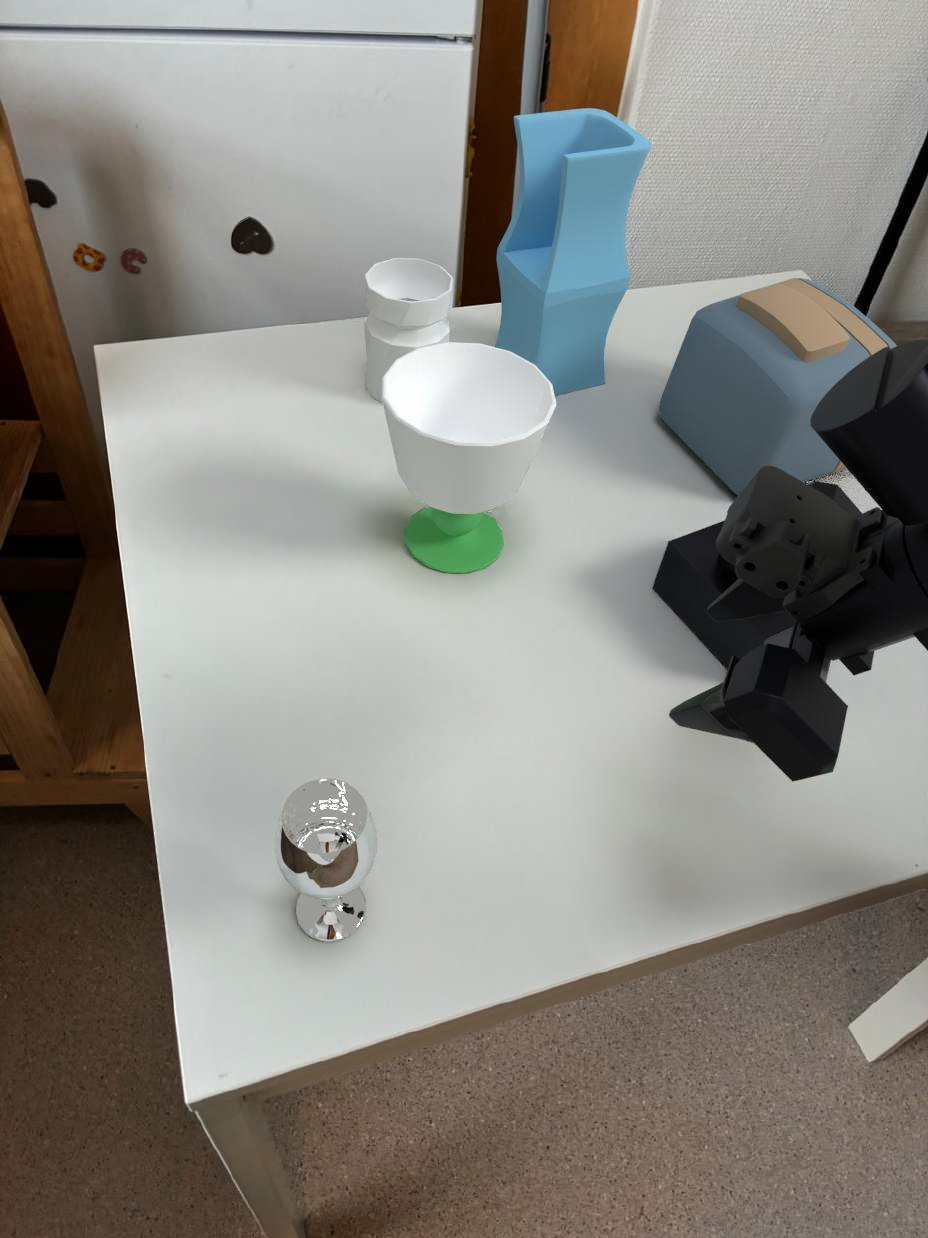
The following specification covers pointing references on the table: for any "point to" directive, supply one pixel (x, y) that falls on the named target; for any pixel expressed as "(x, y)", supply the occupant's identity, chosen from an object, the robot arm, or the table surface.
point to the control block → (713, 597)
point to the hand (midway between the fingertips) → (693, 664)
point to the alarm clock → (765, 379)
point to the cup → (463, 444)
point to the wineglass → (326, 855)
